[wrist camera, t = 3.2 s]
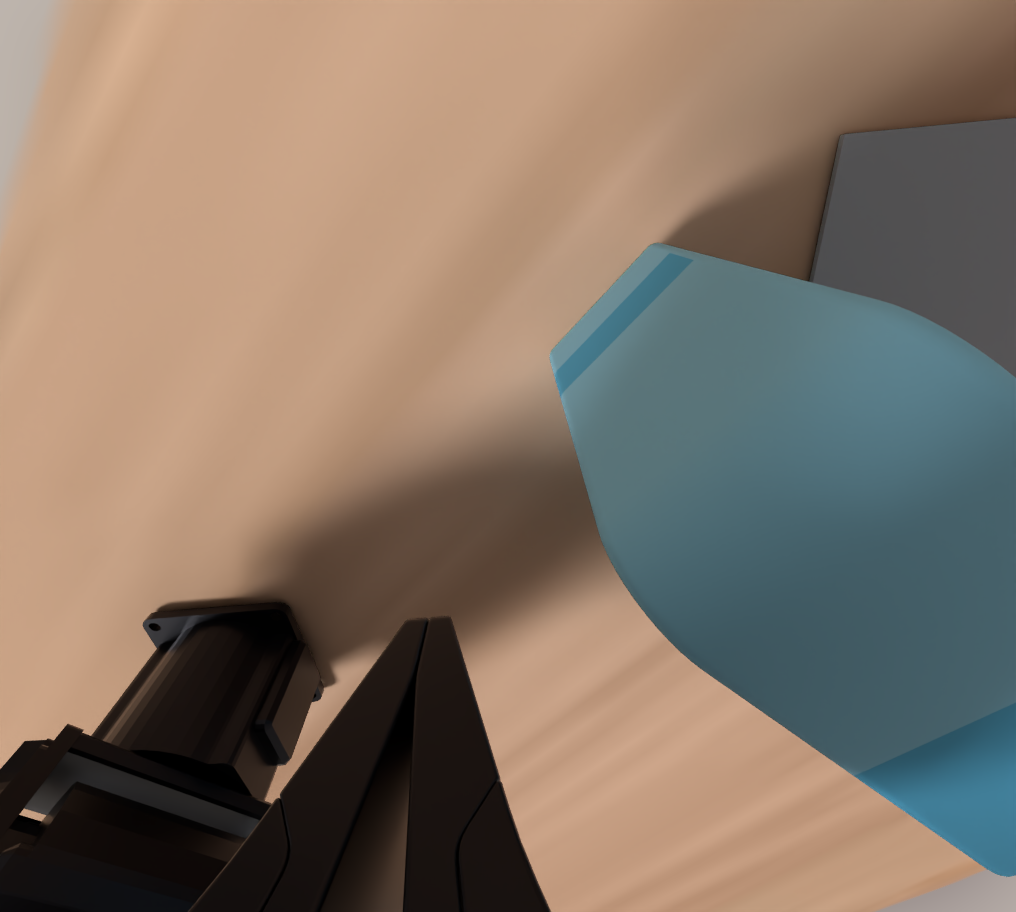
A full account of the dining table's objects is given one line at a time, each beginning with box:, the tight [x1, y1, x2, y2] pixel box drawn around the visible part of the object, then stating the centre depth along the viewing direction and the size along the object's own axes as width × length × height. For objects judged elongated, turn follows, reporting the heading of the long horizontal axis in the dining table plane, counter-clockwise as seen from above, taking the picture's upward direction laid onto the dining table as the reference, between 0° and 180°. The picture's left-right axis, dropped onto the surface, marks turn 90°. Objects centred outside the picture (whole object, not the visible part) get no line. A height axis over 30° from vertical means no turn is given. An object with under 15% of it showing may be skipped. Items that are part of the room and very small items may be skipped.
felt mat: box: [809, 118, 1016, 378], centre depth 17 cm, size 12×16×1 cm
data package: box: [550, 243, 1016, 877], centre depth 12 cm, size 12×4×12 cm, turn 49°
